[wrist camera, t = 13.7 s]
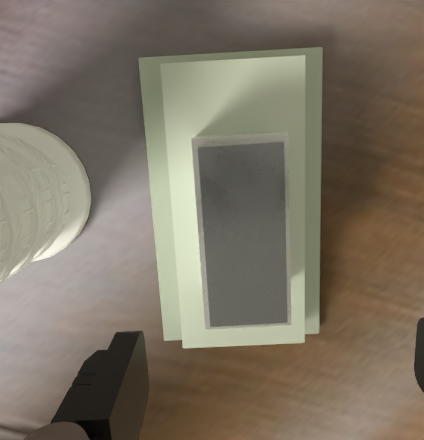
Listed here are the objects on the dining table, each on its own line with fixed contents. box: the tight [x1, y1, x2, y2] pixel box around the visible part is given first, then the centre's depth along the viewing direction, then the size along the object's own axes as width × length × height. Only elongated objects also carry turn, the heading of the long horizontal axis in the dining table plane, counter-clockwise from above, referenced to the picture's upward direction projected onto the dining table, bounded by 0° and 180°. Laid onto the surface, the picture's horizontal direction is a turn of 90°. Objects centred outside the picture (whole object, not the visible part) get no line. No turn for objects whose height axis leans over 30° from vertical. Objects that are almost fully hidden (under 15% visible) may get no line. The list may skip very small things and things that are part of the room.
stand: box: [138, 47, 323, 348], centre depth 31 cm, size 14×24×4 cm, turn 3°
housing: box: [191, 131, 291, 330], centre depth 26 cm, size 12×6×7 cm, turn 4°
